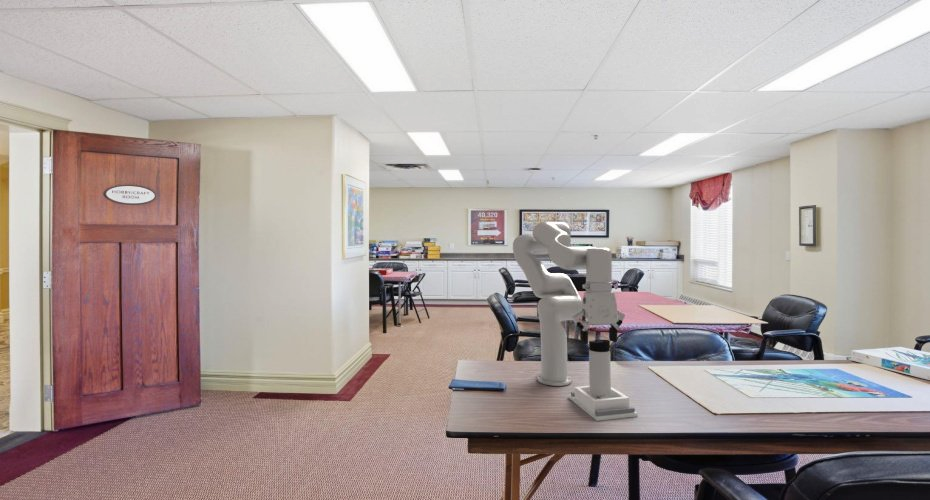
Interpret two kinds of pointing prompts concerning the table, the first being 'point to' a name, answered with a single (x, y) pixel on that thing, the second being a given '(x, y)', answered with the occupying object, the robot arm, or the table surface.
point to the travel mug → (599, 369)
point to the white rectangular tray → (603, 404)
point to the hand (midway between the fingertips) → (598, 342)
